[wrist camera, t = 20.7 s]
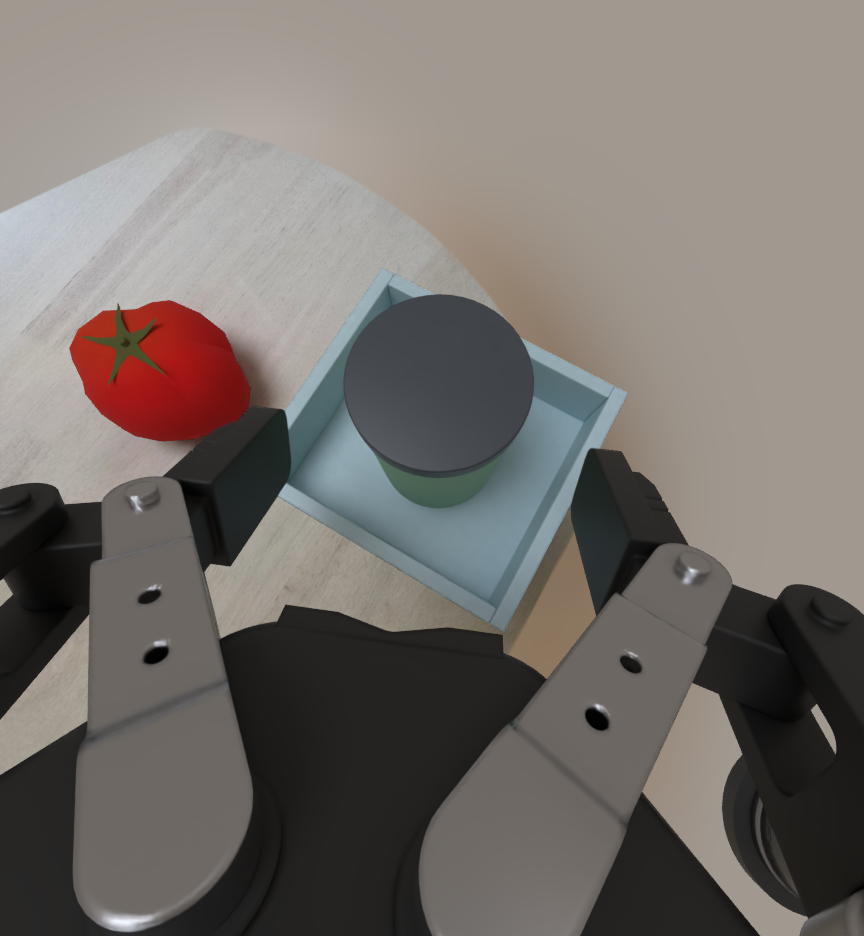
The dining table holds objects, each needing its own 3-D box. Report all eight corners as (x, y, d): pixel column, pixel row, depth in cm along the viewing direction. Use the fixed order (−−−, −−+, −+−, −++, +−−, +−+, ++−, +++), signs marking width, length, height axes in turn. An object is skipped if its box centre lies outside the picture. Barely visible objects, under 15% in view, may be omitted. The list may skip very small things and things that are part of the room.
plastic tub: (516, 432, 20) (567, 346, 12) (459, 533, 19) (475, 509, 11) (417, 378, 21) (406, 264, 13) (357, 473, 20) (305, 411, 12)
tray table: (522, 489, 39) (629, 392, 17) (465, 594, 37) (504, 633, 15) (411, 427, 40) (382, 266, 19) (351, 526, 38) (240, 474, 17)
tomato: (242, 471, 39) (175, 439, 29) (111, 433, 40) (4, 390, 30) (285, 359, 42) (238, 293, 32) (161, 325, 43) (76, 252, 33)
